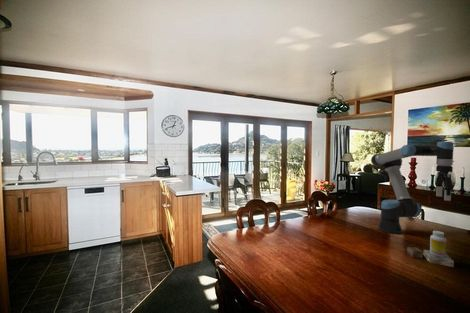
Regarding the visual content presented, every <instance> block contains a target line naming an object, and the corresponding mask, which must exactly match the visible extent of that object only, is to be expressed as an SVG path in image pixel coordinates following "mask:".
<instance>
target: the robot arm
mask: <svg viewBox="0 0 470 313" xmlns="http://www.w3.org/2000/svg"><path fill="white" fill-rule="evenodd" d="M454 150H455V149H454V142H453V141H438V142H437V143H436V144H404V145H403V146H402V147H400V148H397V149H394V150H390V151H387V152H384V153H383V152H382V153H381V152H380V153H376V154H374V155H372V156H371V159H370V162H371V164H372V165H373V166H375V167H377V168H383V169H384V171H385V172H387V175H388V178H389V180H390V183H391V187H392V189H393V192H394V196H395V197H396V199H384V200H382V201H381V203H380V204H381V205H380V220H379V222H378V223H377V224H378V225H377V229H378V230H379V231H381V232H384V233H388V234H392V235H393V234H394V235H395V234H396V235H400V234H402V232H403V229H402V226H401V223H400V218H409V219H410V218H411V219H412V218H417V217H419V216H420V215H421V212H422V207H421V205H420V203H418V202H417V201H415V200H414V198H413V197H411V196H410V194H409V191H408V189H407V186H406V184H405V181H404V177H403V175H402V172H401V168H402V165H403V159H405V158H409V157H436V162H435V165H436V167H435V168H436V169H435V170H436V172H437V175H436V176H437V177H436V180H435V185H436V190H435V191H436V193H435V195H436V197H441V198H442V197H443V198H444V199H443V200H444V201H448V202H451V200H452V190H454V186H453V181H452V174H451V173H452V172H453V170H454V168H453V167H454V166H453V165H454V162H455V160H454ZM443 187H444V189H443ZM443 191H444V196H443Z"/></svg>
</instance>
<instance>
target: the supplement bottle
mask: <svg viewBox="0 0 470 313" xmlns="http://www.w3.org/2000/svg"><path fill="white" fill-rule="evenodd" d="M444 236H445V232H443V231H440V230H433V231H432V234H431V235H430V238H429V239H430V240H429V250H430V253H431V254H433V255H436V256H439V257H445V256H446V254H447V238H446V237H444Z"/></svg>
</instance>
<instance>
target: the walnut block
mask: <svg viewBox="0 0 470 313" xmlns="http://www.w3.org/2000/svg"><path fill="white" fill-rule="evenodd" d="M406 251H407V252H406V254H407V253H408V254H407V255H409V256H410V257H411V258H413V257H416V258H415V259H423V256H424V255H423V252H424V250H423V251H422V250H421V249H420V248H418V247H413V246H412V247H411V246H407V249H406Z"/></svg>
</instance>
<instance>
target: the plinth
mask: <svg viewBox="0 0 470 313" xmlns="http://www.w3.org/2000/svg"><path fill="white" fill-rule="evenodd" d="M423 256H424V258H425V259H426V260H427V262H428V261H429V262H430V264H436V265H441V266H446V267H449V268H450V267H452V268H454V267H455V266H454V265H455V261H454V260H453V259H452V258H451V257H450V256H449V255H448V254H447V253H446V256H445V257H439V256H436V255H433V254H431V253H430V249H423ZM429 262H428V263H429Z"/></svg>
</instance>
